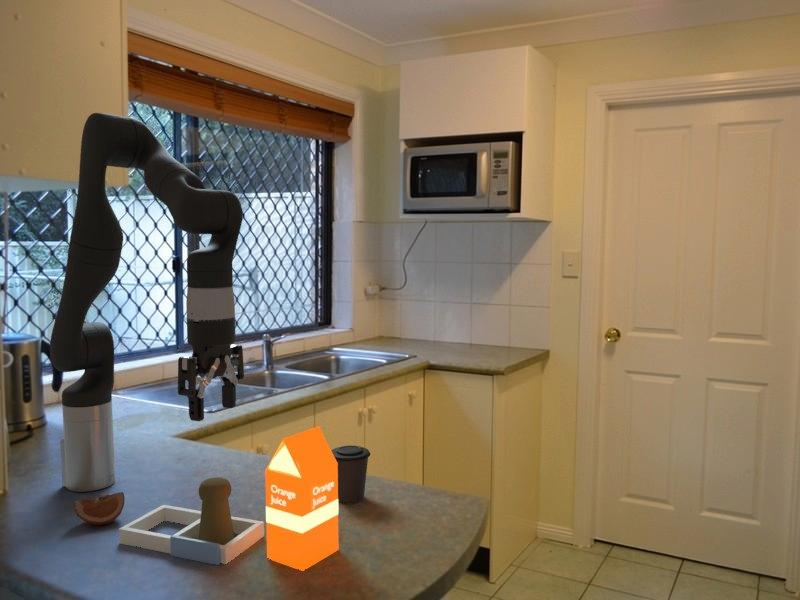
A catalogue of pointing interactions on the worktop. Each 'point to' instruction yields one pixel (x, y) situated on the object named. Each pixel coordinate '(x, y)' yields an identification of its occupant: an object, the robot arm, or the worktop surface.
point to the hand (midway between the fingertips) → (213, 413)
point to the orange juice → (302, 501)
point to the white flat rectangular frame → (189, 535)
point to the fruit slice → (100, 508)
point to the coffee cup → (351, 472)
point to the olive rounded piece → (215, 511)
